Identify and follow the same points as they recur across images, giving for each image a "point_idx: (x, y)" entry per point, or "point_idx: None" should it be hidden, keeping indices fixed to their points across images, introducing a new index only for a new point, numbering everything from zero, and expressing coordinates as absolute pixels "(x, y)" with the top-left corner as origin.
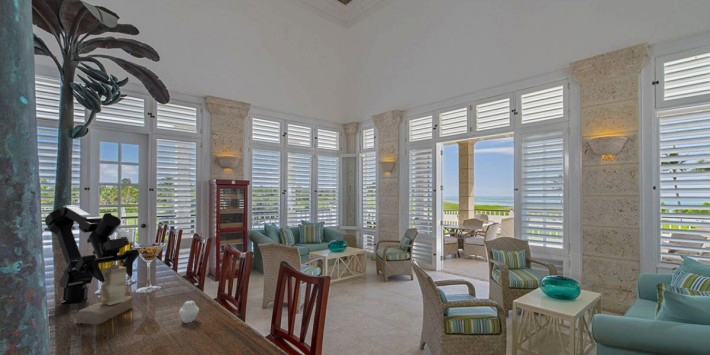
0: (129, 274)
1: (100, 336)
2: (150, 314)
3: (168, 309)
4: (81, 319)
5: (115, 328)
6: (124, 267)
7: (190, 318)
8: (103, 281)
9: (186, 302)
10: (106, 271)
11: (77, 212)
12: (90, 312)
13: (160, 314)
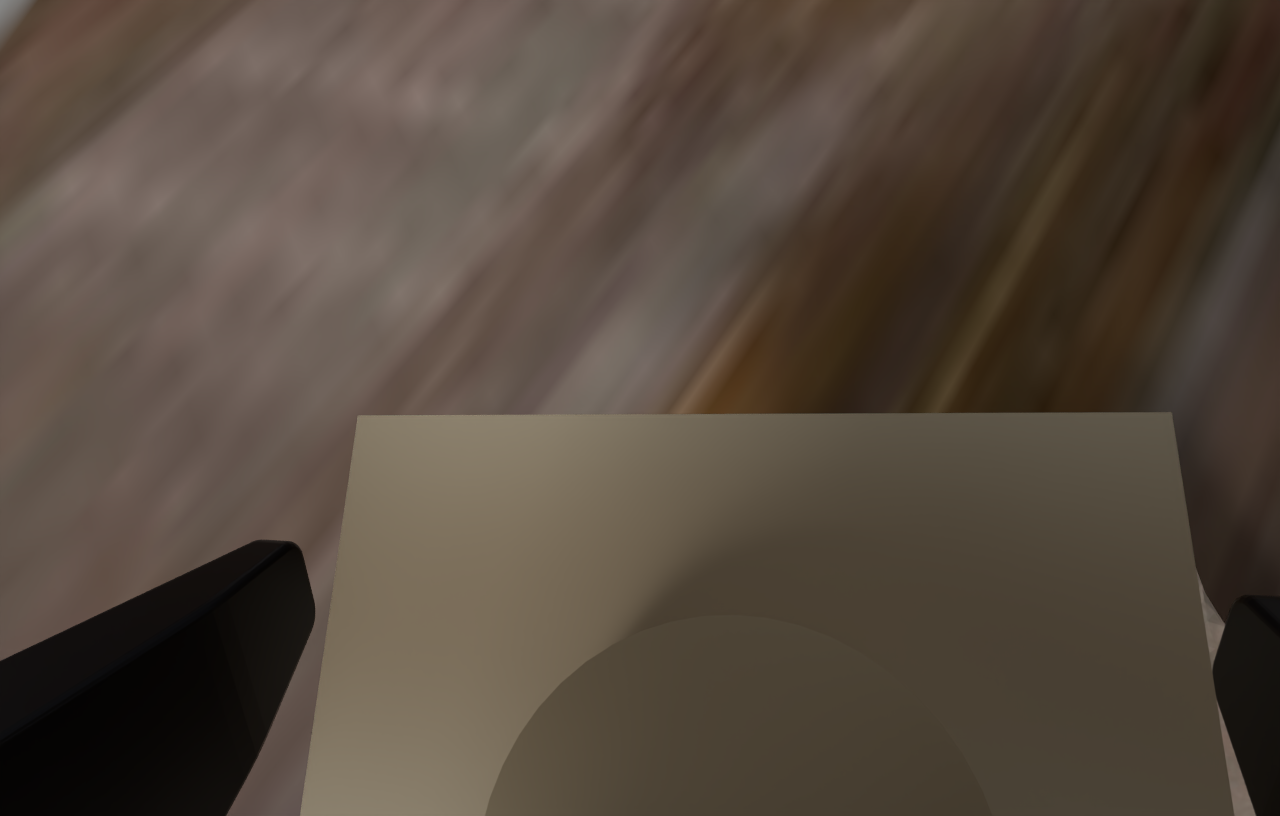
0: (270, 650)
1: (1237, 123)
2: (531, 281)
3: (316, 258)
4: None
5: (1021, 203)
6: (418, 472)
7: None
8: (1248, 625)
9: None
10: None
11: None
12: (1221, 624)
13: (482, 189)
